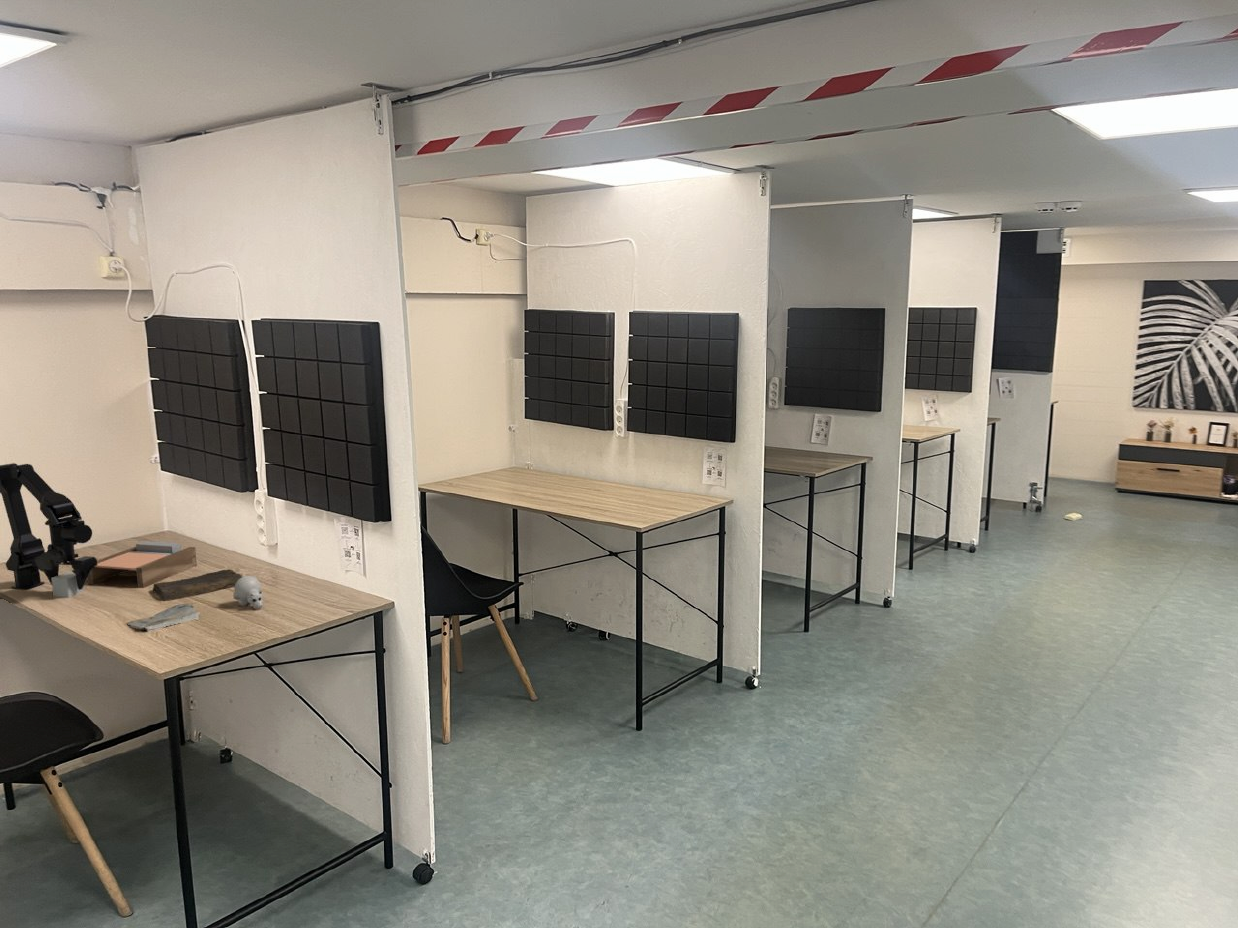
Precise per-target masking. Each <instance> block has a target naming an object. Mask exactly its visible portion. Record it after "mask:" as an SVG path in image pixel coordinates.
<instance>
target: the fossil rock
mask: <svg viewBox="0 0 1238 928" xmlns="http://www.w3.org/2000/svg"><path fill="white" fill-rule="evenodd" d="M199 616H200V611H198V610H196V609H195V607H194V605H193V604H190V603H189V602H186V603H185V602H184V603H181V604H175V605H174V606H172V607H170V608H167V609H165V610H162V611H161V612H158V613H156V614H154V616H153V615H152V616H149V617H147V618H139V619H135V620H131V621H128V622H125V624H126V625H127V624H128V625H127V626H129V625H130V626H129V627H131V628H133V627H134V628H133V629H135V628H136V630H140V631H146V632H147V631H150V630H154V631H156V630H155V629H158V630H160V629H159V628H162V629H164V628H166V626H167V627H171V626H175V625H174V624H176V625H179V624H178V623H181V624H183V623H182V622H186V621H189V622H191V621H190V620H193V619H196V620H199ZM193 621H194V620H193ZM186 623H187V622H186ZM170 625H171V626H170ZM163 627H164V628H163ZM150 632H151V631H150Z"/></svg>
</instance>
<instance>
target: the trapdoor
mask: <svg viewBox="0 0 1238 928" xmlns="http://www.w3.org/2000/svg"><path fill="white" fill-rule="evenodd" d="M135 547H136V550H137V551H129V552H128V553H125V554H122V555H119V556H117V557H114V558H111V559H108V560H105V561H103V562H100V563H97V566H94V567H98V568H112V569H127V570H129V571H136V568H137V567H139V566H142V565H144V564H147V563H150V562H152V561H155V560H157V559H160V558H163V557H165V556H168V555H170V554H173V553H176V552H178V551H181V550H182V548H181V543H179V542H163V541H152V540H150V541H149V540H147V541H146V540H144V541H141V542H139V543H136V544H135Z"/></svg>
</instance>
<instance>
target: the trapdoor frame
mask: <svg viewBox="0 0 1238 928" xmlns="http://www.w3.org/2000/svg"><path fill="white" fill-rule="evenodd" d="M129 551H137V550H136V546H133V547H131V548H128V549H125V550H122V551H120V552H117V553H114V554H111V555H109V556H106V557H103V558H99V559H97V563H100V562H103V561H105V560H108V559H111V558H114V557H117V556H119V555H122V554H125V553H128V552H129ZM197 565H198V562H197V551H196V547H195V546H189V547H186V548H183V549H181V551H178V552H176V553H173V554H170V555H168V556H165V557H163V558H160V559H157V560H155V561H152V562H150V563H147V564H144V565H142V566H139V567H137V568H136V570H135V571H136V579H137V588H139V589H140V588H142V589H143V588H147V587H149V586H151V585H154V584H156V583H160V582H161V581H162V580H165V579H168V578H171V577H172V576H173V577H174V576H175V575H177V574H179V573H182V572H184V571H186V570H190V569H191V568H194V567H196V566H197ZM129 571H130V570H127V569H112V568H98V567H94V568H92V569H91V571H90V573H89V574H88V576H87V579H86V581H87V584H88V585H95V584H97V583H99V582H100V583H101V582H102V581H105V580H107V579H111V578H113V577H116V576H117V575H121V574H124V573H126V572H129Z"/></svg>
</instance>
